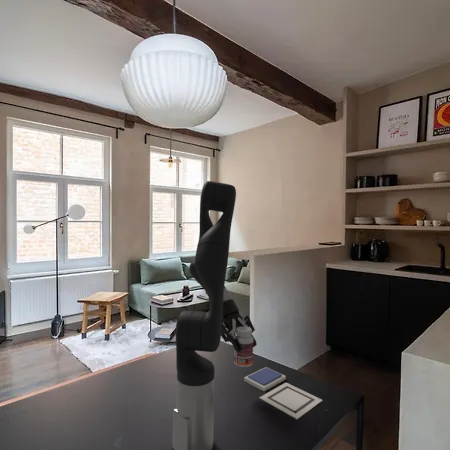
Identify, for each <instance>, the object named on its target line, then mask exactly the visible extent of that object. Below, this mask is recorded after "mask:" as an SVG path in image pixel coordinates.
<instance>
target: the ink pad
mask: <svg viewBox="0 0 450 450" xmlns="http://www.w3.org/2000/svg"><path fill="white" fill-rule="evenodd" d="M286 378H287V376H286V375H285V374H282V373H280V372H278V371H277V370H276V371H275V370H273V369H271V368H270V367H267V366H265V367H264V368H261V369H259V370H257V371H255V372H253V373H251V374H248V375H247V376H246V375H245V376H244V378H243V382H245V383H247V384H248V385H251V386H253V387H254V388H257V389H258V390H260V391H262V392H266V391H267V390H270V389H271V388H273V387H275V386H277V385H279V384H280V383H282V382H284V381H285V380H286Z"/></svg>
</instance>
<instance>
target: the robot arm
mask: <svg viewBox="0 0 450 450" xmlns="http://www.w3.org/2000/svg"><path fill="white" fill-rule="evenodd" d="M236 198H237V189H236V187H235V186H234V185H232V184H228V183H223V182H218V181H213V180H212V181H211V180H207V181H205V182H204V183H203V186H202V189H201V192H200V200H199V201H200V202H199V233H198V234H199V235H198V242H197V245H196V253H195V258H194V260H193V261H191V262H190V264H189V268H188V269H189V273H190V275H191V276H192V278H193V279H194V280H195V281H196V282H197V283H198V284H199V285H200V286H201V287H202V289H203V290H204V291H205V293H206V295H207V298H208V301H209V310H208V311H199V310H183V311H181V312H180V313H179V314H178V317H177V320H176V323H175V351H176V352H175V354H176V355H175V356H176V362H175V364H176V407H175V408H173V409H172V439H171V440H172V444H171V445H172V446H171V447H172V448H173V450H212V449H213V448H214V417H215V415H214V412H215V410H214V409H215V408H214V407H215V373H216V372H215V371H216V370H215V365H214V363H213V362H212V361H211V360H209V359H207V358H206V357H203V355H201V354H199V353H198V352H207V353H214V352H216V351H217V350H218V349H219V346H220V343H221V338H222V339H223V341H224V342H225V343H228V342H229V343H231V345H232V347H233V350H234V349H235V350H236V351H237V353H239V352H241V351H242V347H241V345H240V343H239V341H238V339H236V336H237V335H236V328H238V327H249V328H251V329H252V335H251V336H252V337H253V348H255V347H256V346H257V340H256V339H255V336H254V335H253V334H254V332H255V331H256V329H255V327H254V325H253V323H252V321H251V318H250V316H249V315H245V316H242V315H241V314H240V309H239V308H238V306H237V304H236V302H235V300H234V298H233V297H232V295H231V293H230V292H229V291H228V289H227V288H226V286H225V285H226V277H227V276H226V275H227V270H228V263H229V255H230V254H229V253H230V243H231V241H230V239H231V229H232V223H233V216H234V212H235V204H236V200H237V199H236ZM210 211H213V212H219V213H222V214H221V215H220V217H219V219H218V220H217V221H216V223H215V224H213V222H212V220H211V217H210Z"/></svg>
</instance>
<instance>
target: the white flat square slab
mask: <svg viewBox="0 0 450 450" xmlns="http://www.w3.org/2000/svg"><path fill="white" fill-rule="evenodd" d="M258 399H260V400H261V401H263V402H265V403H267V404H269V405H271V406H272V407H274V408H276V409H278V410H280V411H281V412H284V413H285V414H287V415H289V416H290V417H292V418H294V419H295V420H298V419H300V418H301V417H302V416H304V415H306V413H308V412H309V411H311V410H312V409H313V408H315V407H317V405H318V404H321V402H323V399H321V398H320V397H317V396H315V395H313V394H311V393H309V392H307V391H305V390H303V389H300V388H298V387H296V386H294V385H292V384H290V383H288V382H284V383H283V384H281V385H279V386H276V387H275V388H274V389H271V390H270V391H269V392H267V393H264V394H263V395H261V396H260V397H259V398H258Z"/></svg>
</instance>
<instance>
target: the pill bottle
mask: <svg viewBox="0 0 450 450" xmlns="http://www.w3.org/2000/svg"><path fill="white" fill-rule="evenodd" d="M251 335H253V333H252V329H251V328H249V327H238V328H236V339H238V341H239V343H240V345H241V347H242V351H241V352H239V353H237V351H236V350H235V349H234V348H233V351H234V352H233V353H234V354H233V359H234V360H233V363H234V365H236V366H237V367H241V368H247V367H251V366H252V365H253V363H254V347H253V337H254V336H253V337H252V336H251Z"/></svg>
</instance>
